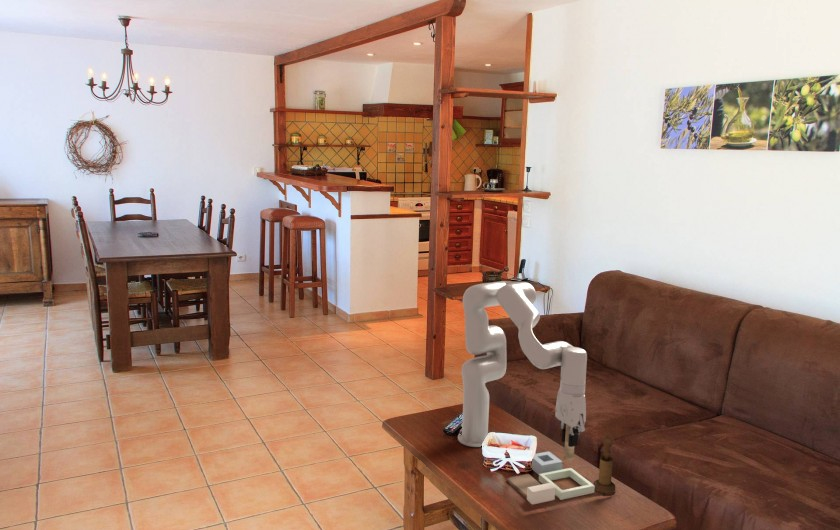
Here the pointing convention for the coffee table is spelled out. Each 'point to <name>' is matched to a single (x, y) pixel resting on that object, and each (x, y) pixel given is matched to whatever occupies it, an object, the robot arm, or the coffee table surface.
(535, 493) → the block
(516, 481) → the board
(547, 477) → the cream square frame
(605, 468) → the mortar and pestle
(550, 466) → the socket
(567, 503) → the coffee table surface
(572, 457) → the dowel
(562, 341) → the robot arm
